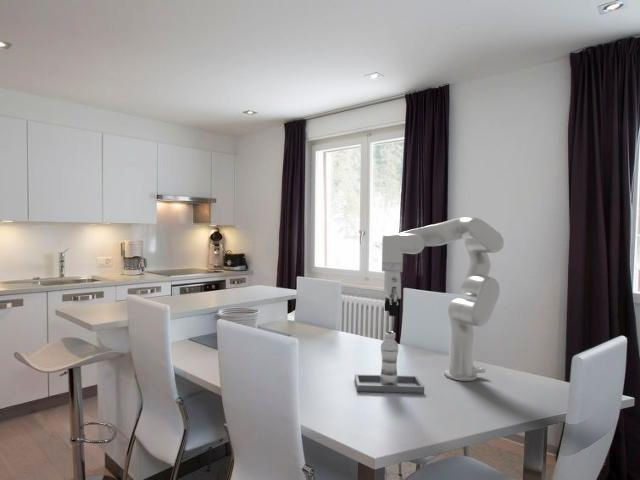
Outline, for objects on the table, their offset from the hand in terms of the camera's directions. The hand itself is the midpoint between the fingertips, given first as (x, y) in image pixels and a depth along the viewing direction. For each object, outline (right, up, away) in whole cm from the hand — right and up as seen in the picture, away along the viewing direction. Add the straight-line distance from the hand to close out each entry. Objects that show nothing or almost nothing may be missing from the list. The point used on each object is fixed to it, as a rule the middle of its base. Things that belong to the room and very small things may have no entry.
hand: (391, 313), depth 163 cm
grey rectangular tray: (-1, -28, 0) cm, 28 cm away
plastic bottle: (-1, -27, 0) cm, 27 cm away
